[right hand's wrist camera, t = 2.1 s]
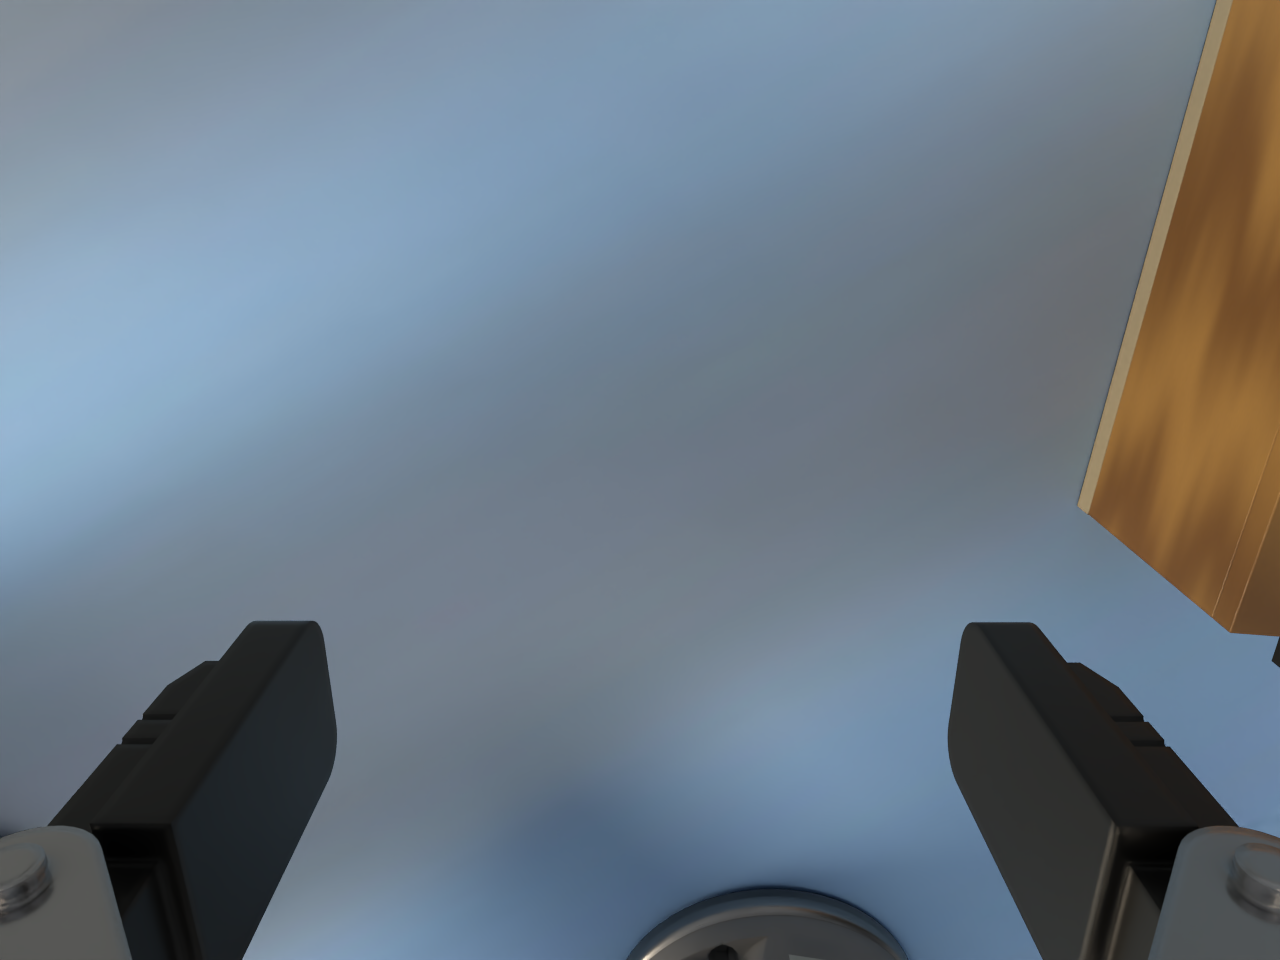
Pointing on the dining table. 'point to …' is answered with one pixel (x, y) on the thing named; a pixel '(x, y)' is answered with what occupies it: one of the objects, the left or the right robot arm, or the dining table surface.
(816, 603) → the dining table surface
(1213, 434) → the cabinet
